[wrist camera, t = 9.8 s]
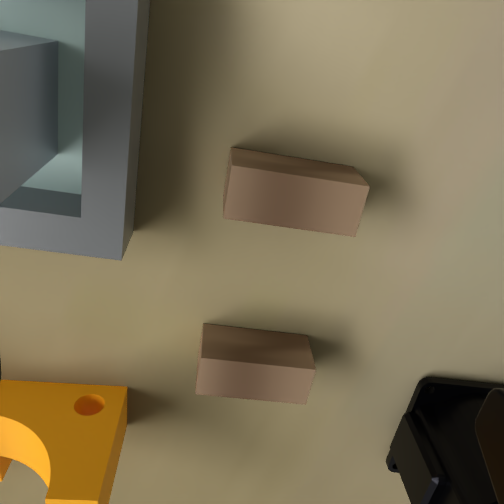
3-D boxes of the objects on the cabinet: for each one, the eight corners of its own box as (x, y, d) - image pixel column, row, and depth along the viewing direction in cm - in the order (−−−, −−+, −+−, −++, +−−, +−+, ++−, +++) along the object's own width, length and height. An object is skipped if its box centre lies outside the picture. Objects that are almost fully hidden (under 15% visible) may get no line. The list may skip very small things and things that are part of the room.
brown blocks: (353, 166, 20) (370, 186, 17) (298, 368, 24) (305, 404, 22) (231, 147, 19) (232, 165, 17) (197, 357, 23) (195, 393, 21)
